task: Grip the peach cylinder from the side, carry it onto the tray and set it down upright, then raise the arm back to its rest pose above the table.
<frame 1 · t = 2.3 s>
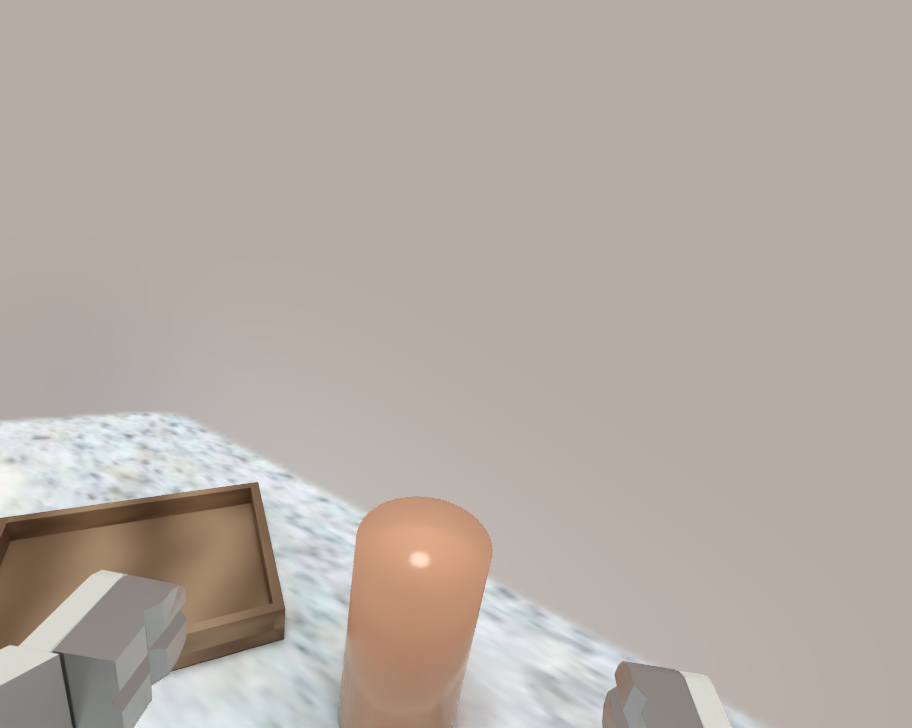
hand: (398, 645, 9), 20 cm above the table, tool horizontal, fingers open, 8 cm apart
tray: (137, 591, 32), on the table
peach cylinder: (397, 709, 28), on the table
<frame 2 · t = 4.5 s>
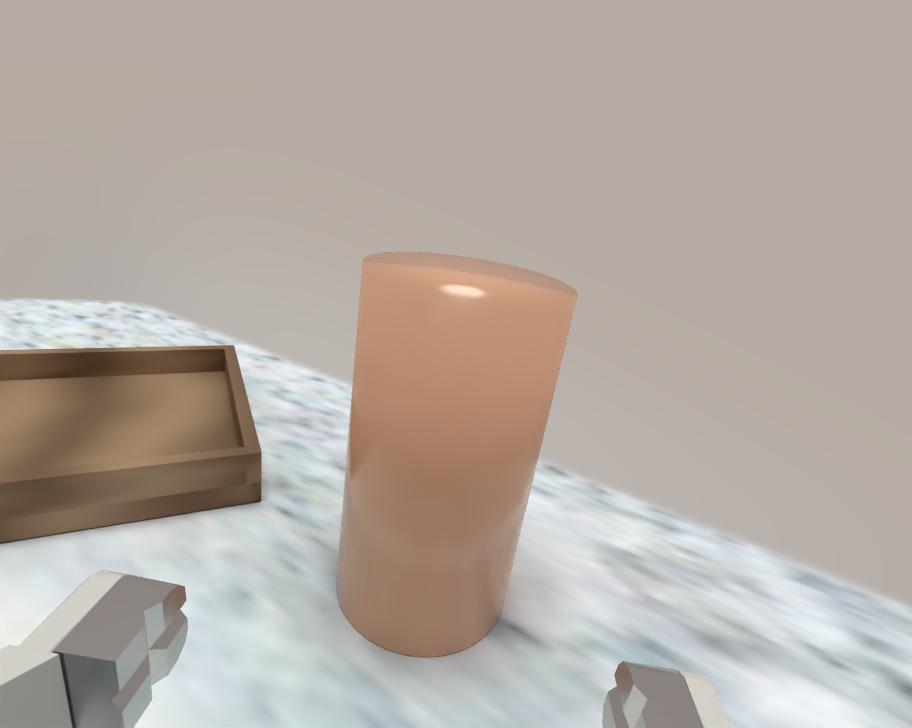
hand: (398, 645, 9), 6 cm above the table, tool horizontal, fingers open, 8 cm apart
tray: (62, 446, 23), on the table
peach cylinder: (421, 581, 19), on the table
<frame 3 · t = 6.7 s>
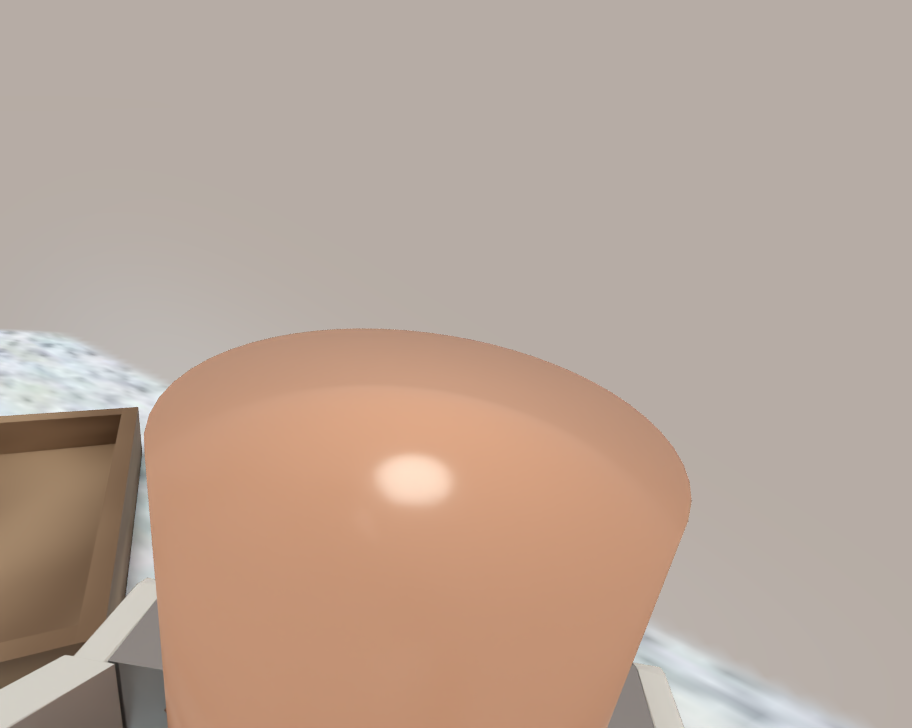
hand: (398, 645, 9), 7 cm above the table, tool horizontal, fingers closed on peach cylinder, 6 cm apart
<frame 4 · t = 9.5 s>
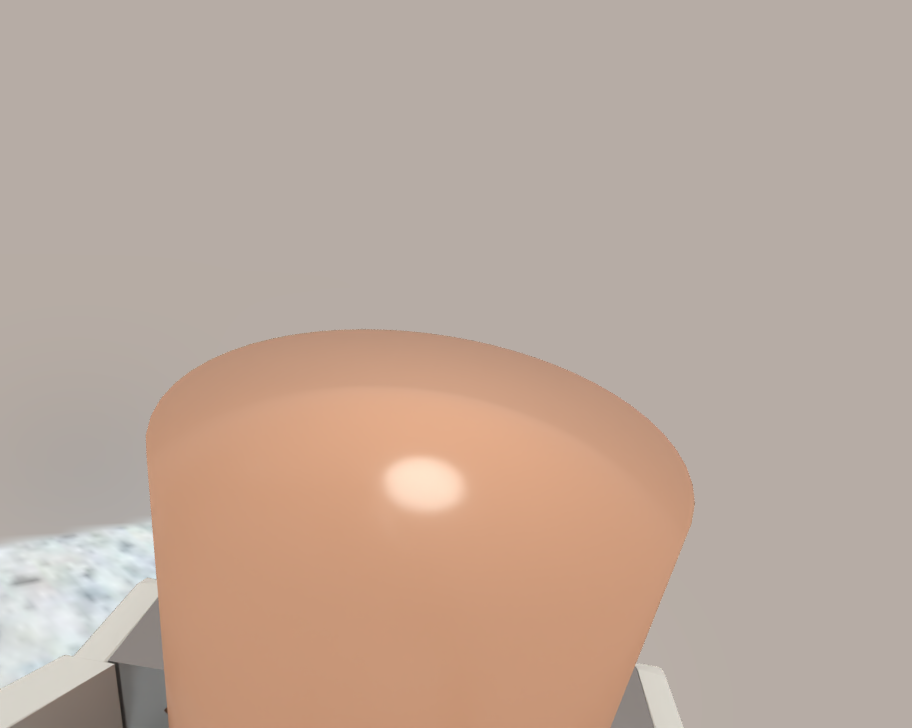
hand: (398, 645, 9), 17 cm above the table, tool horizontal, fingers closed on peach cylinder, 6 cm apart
when the fingers open (9 cm above the table, at t = 12.4 s): peach cylinder drops 1 cm, resting on tray.
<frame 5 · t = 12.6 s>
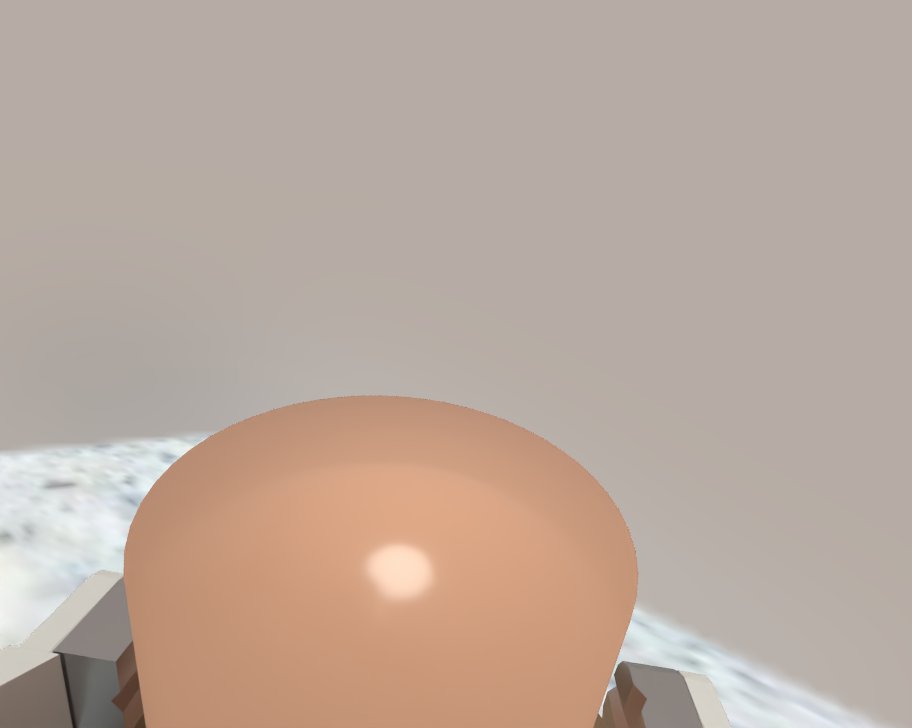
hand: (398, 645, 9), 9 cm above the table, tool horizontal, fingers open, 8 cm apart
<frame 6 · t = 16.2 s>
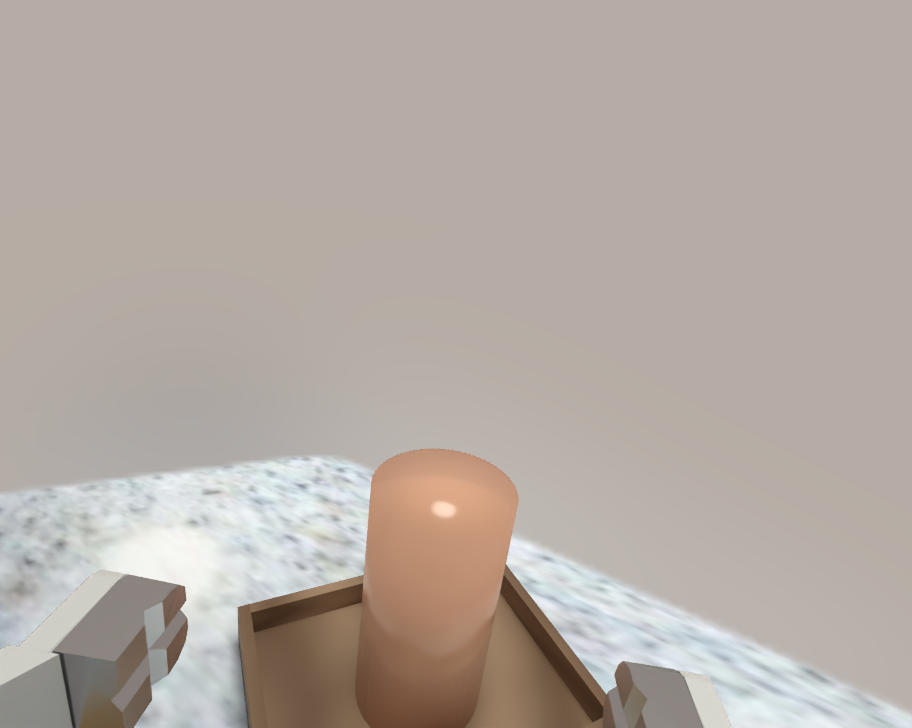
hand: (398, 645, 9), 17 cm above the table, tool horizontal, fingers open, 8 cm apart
tray: (415, 695, 26), on the table
peach cylinder: (417, 682, 26), point 1 cm above the table, touching tray
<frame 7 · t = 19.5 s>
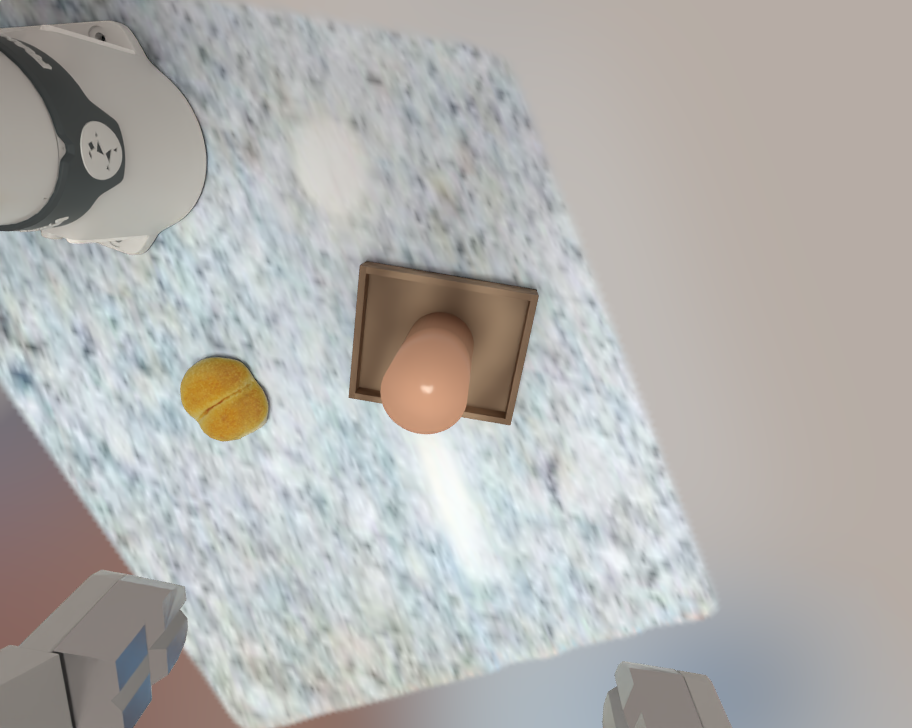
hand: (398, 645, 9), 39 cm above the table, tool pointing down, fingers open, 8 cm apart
bread roll: (233, 394, 52), on the table
tray: (441, 341, 48), on the table
peach cylinder: (440, 344, 47), point 1 cm above the table, touching tray
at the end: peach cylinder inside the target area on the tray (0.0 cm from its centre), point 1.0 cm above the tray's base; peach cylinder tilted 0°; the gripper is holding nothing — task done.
